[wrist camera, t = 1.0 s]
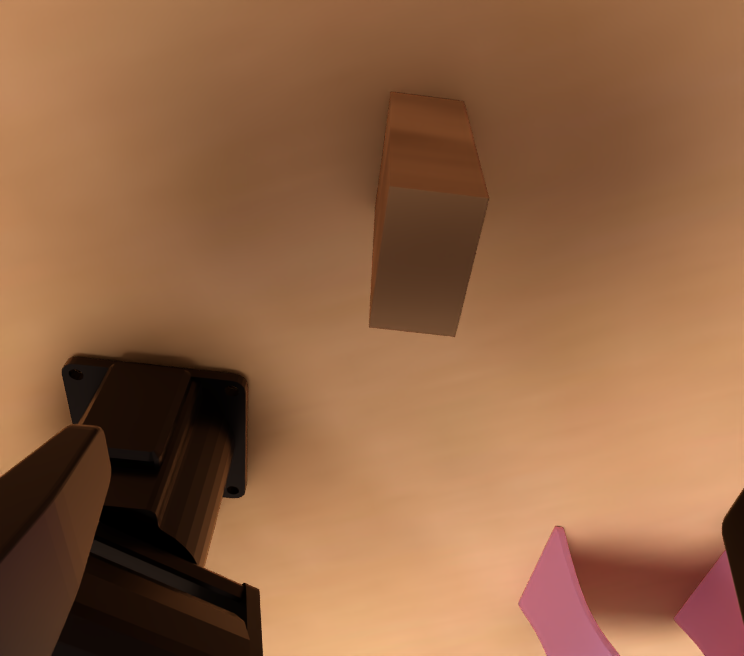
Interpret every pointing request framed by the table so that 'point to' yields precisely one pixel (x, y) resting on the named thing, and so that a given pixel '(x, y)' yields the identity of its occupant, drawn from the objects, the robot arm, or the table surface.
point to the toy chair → (581, 632)
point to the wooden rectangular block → (425, 216)
